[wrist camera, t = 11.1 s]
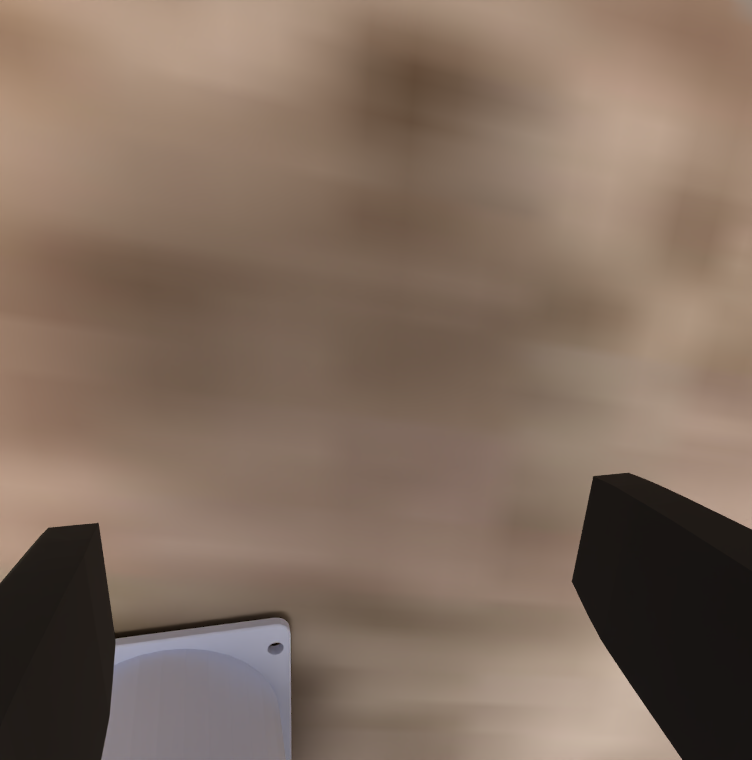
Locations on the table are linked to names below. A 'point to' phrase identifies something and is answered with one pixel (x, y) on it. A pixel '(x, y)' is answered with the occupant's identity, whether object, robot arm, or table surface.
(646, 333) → the table surface
